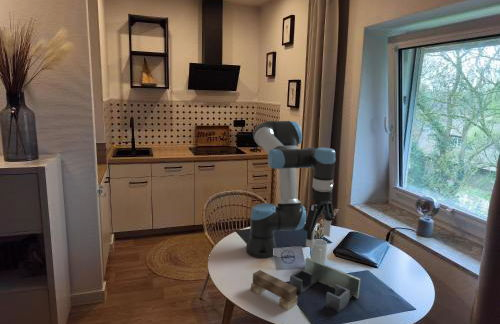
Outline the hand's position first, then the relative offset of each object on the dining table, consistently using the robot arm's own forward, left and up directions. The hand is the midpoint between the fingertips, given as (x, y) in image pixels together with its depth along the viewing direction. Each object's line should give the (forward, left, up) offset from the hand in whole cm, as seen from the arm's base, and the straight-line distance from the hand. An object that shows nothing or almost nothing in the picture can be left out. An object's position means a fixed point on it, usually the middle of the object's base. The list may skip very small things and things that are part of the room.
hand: (318, 241), depth 137 cm
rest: (-8, -16, -21) cm, 28 cm away
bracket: (+4, 0, -21) cm, 21 cm away
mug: (-8, +15, -21) cm, 27 cm away
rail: (-8, -16, -18) cm, 25 cm away
